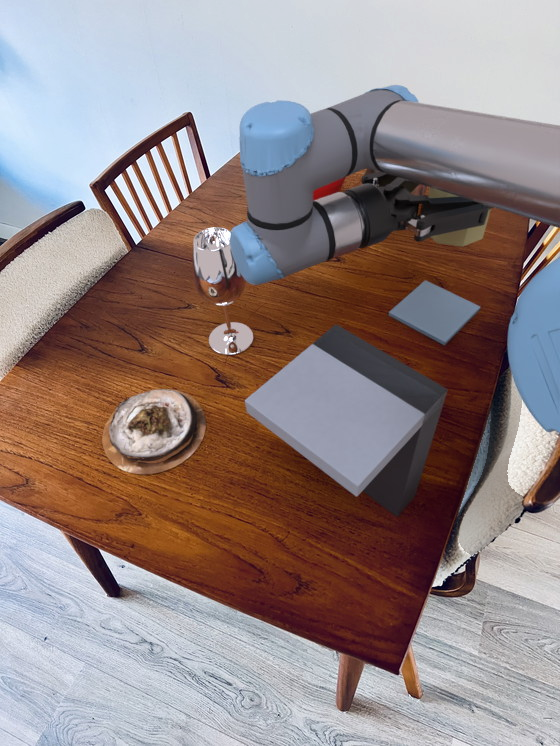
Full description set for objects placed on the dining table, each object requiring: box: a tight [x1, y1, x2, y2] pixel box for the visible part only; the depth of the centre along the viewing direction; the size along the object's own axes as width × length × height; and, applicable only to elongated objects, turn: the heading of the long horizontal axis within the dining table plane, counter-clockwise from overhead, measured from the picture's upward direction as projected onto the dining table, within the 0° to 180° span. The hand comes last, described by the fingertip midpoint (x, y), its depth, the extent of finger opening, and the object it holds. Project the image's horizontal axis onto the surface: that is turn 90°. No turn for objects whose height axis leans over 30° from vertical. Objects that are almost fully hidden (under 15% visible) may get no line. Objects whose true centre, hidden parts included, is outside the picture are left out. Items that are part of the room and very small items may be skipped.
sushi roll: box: [101, 388, 207, 475], centre depth 74 cm, size 15×15×4 cm
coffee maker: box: [244, 324, 448, 518], centre depth 59 cm, size 14×14×22 cm
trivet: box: [388, 279, 481, 346], centre depth 88 cm, size 11×11×1 cm
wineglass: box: [192, 226, 254, 356], centre depth 80 cm, size 8×8×20 cm
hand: (491, 172), depth 72 cm, fingers closed on jar, 8 cm apart
